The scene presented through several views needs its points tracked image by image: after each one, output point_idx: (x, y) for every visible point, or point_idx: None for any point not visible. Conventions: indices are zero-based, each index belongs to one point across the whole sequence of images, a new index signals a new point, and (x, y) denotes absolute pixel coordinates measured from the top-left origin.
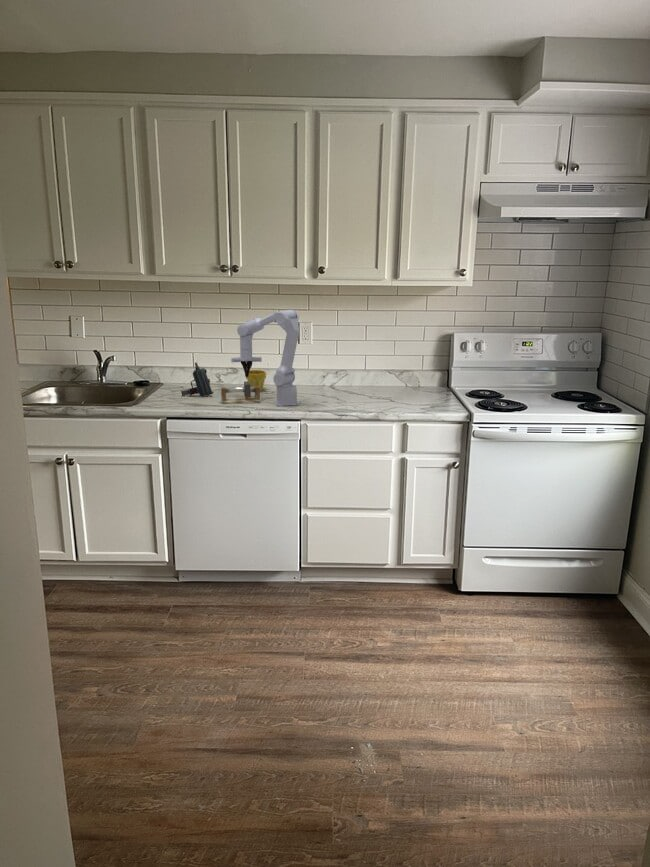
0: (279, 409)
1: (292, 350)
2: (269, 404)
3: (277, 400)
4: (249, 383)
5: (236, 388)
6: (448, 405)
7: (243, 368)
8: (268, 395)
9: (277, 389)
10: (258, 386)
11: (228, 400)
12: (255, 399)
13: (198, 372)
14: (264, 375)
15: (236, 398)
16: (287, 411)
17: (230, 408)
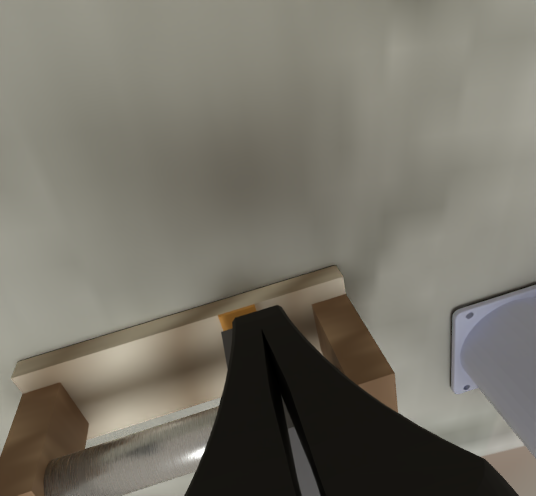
0: (451, 432)
1: None
2: (407, 361)
3: (475, 382)
4: (314, 488)
5: (170, 478)
6: None
7: (216, 442)
8: (429, 92)
9: (533, 454)
10: (389, 394)
11: (101, 408)
12: (318, 339)
13: None
14: None
15: (151, 344)
16: (483, 449)
17: (164, 484)
